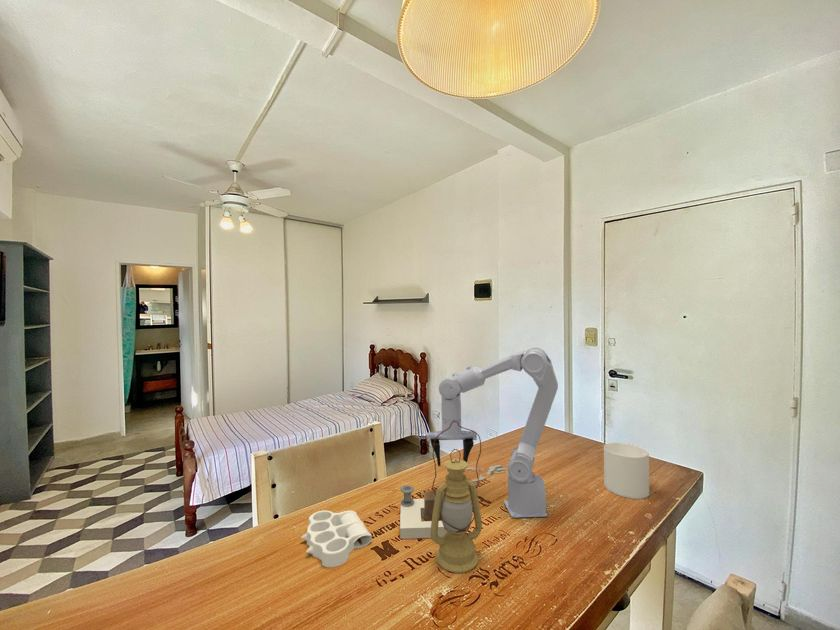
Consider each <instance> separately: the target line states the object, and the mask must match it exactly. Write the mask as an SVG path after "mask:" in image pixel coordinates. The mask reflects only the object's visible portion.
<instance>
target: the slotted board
mask: <svg viewBox="0 0 840 630" xmlns="http://www.w3.org/2000/svg"><path fill="white" fill-rule="evenodd" d="M414 490H415V487H414V486H413V485H409V484H406V485H403V486H401V487H400V492H401V493H403V499H400V512H399V513H400V521H399V540H400V539H401V540H406V539H408V540H409V539H411V540H412V539H432V538H431V522H432V521H425V520H424V521H422V518H424V498H412V493H413V492H414ZM439 518H441V516H440V515H439ZM446 533H447V531H446V530H445V528H444V526H443V523H442V521H441V520H439V523H438V536H439V537H443V536H444V535H445V534H446Z"/></svg>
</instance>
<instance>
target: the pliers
mask: <svg viewBox="0 0 840 630" xmlns="http://www.w3.org/2000/svg"><path fill="white" fill-rule="evenodd" d="M473 468H474V469H475V468H476V467H467V468H466V469H472V470H474V469H473ZM466 469H465V471H467V470H466ZM481 469H482V470H483V469H484V468H481ZM488 469H489V470H488V471H487V472H486V473H487V474H489V475H490V474H491V473H494V471H497V472H501V471H506V470H507V469H506V467H505V468H504V467H503V465H502V464H498V465H497V464H496V465H492V466H491V465H490V466H489V467H488ZM472 470H471V471H472ZM477 470H478V469H477ZM474 471H476V470H474ZM474 471H473V472H474ZM478 472H479V471H478ZM478 472H477V473H478ZM506 472H507V471H506ZM481 475H482V473H481V474H480V475H479V477H478V478H479V482H481V481H480V480H483V478H484V475H482V476H481ZM490 476H491V475H490ZM478 478H476V479H471V480H472V481H473V482H474V483H476V482H475V481H478ZM484 479H485V478H484ZM485 480H486V479H485ZM483 481H484V480H483Z"/></svg>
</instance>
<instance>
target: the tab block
mask: <svg viewBox="0 0 840 630" xmlns="http://www.w3.org/2000/svg"><path fill="white" fill-rule="evenodd" d="M434 492H435V494H436V491H434ZM434 492H433V491H425V492H424V491H423V499H424V517H423V518H424V521H432V514H433V508H434V502H435V494H434Z"/></svg>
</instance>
